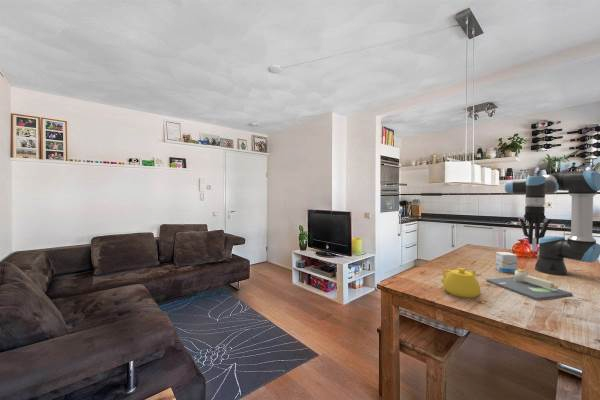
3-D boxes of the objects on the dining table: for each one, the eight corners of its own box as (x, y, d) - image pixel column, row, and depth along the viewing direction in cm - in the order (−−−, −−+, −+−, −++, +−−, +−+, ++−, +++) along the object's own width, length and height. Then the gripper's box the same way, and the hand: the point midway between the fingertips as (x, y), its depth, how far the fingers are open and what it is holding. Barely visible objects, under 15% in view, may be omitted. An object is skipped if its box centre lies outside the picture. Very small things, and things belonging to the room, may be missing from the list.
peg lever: (512, 279, 148) (512, 269, 148) (518, 278, 149) (518, 268, 149) (554, 292, 130) (554, 280, 129) (560, 290, 131) (560, 279, 131)
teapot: (468, 302, 123) (469, 275, 122) (432, 288, 139) (432, 265, 139) (490, 293, 132) (491, 269, 132) (454, 282, 149) (454, 260, 148)
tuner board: (518, 278, 155) (518, 275, 155) (572, 295, 130) (572, 292, 130) (486, 281, 149) (486, 278, 149) (536, 300, 124) (536, 297, 124)
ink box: (517, 273, 164) (517, 255, 164) (502, 272, 166) (502, 254, 165) (509, 269, 173) (509, 252, 172) (494, 268, 174) (495, 251, 174)
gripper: (521, 205, 133) (519, 250, 134) (554, 206, 127) (552, 253, 128) (516, 204, 140) (515, 247, 141) (548, 205, 134) (546, 250, 135)
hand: (533, 250), depth 134 cm, fingers closed
